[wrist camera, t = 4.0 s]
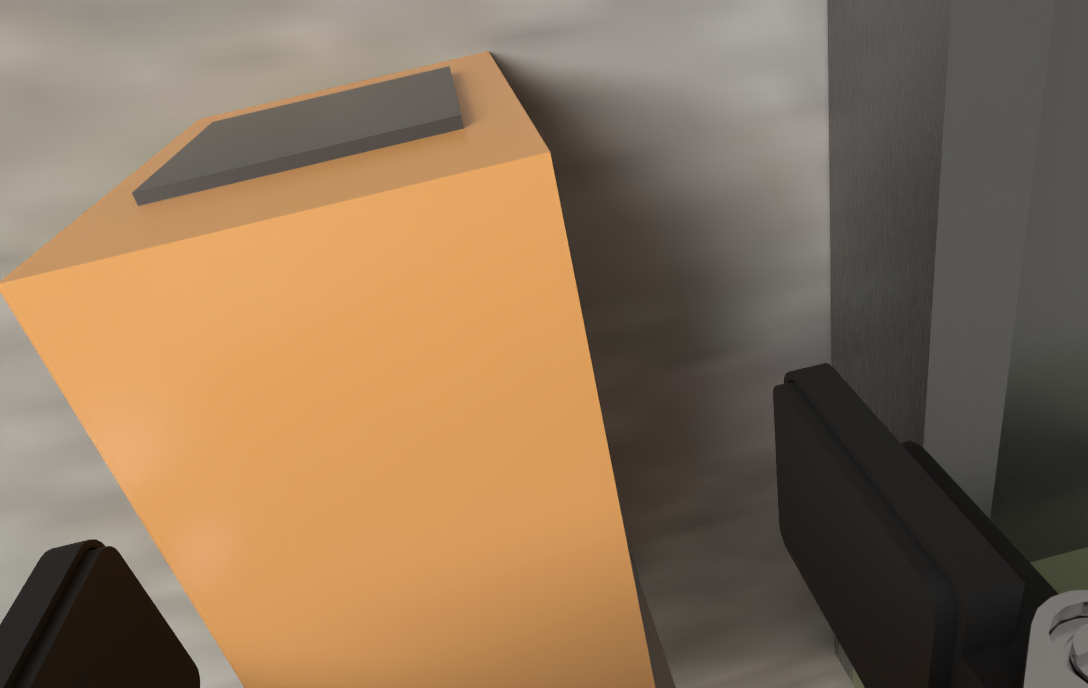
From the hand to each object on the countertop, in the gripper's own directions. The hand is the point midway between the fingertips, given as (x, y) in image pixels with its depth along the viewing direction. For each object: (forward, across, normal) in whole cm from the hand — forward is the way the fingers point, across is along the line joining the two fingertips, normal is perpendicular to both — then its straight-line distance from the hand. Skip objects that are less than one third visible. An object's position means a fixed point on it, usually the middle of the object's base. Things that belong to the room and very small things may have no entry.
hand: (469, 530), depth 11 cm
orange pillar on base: (+5, +1, +1) cm, 5 cm away
